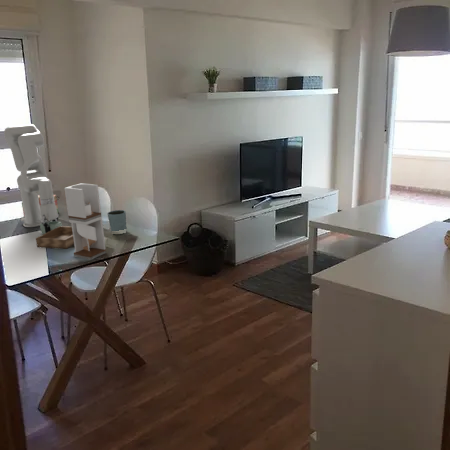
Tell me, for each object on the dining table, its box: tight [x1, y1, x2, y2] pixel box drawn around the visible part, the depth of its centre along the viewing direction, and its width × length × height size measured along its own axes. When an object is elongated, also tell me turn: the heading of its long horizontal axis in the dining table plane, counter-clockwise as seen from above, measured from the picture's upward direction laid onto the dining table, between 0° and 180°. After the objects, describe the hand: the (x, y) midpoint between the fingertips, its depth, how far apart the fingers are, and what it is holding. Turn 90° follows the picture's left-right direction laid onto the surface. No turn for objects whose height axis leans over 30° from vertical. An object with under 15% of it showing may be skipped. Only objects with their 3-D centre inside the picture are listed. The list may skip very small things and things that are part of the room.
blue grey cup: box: [107, 209, 128, 232], centre depth 288 cm, size 10×10×12 cm
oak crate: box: [35, 225, 74, 250], centre depth 278 cm, size 18×22×5 cm
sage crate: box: [39, 221, 63, 235], centre depth 295 cm, size 10×6×6 cm, turn 74°
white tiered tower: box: [63, 182, 107, 261], centre depth 251 cm, size 11×11×35 cm
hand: (51, 231), depth 295 cm, fingers closed on sage crate, 6 cm apart
